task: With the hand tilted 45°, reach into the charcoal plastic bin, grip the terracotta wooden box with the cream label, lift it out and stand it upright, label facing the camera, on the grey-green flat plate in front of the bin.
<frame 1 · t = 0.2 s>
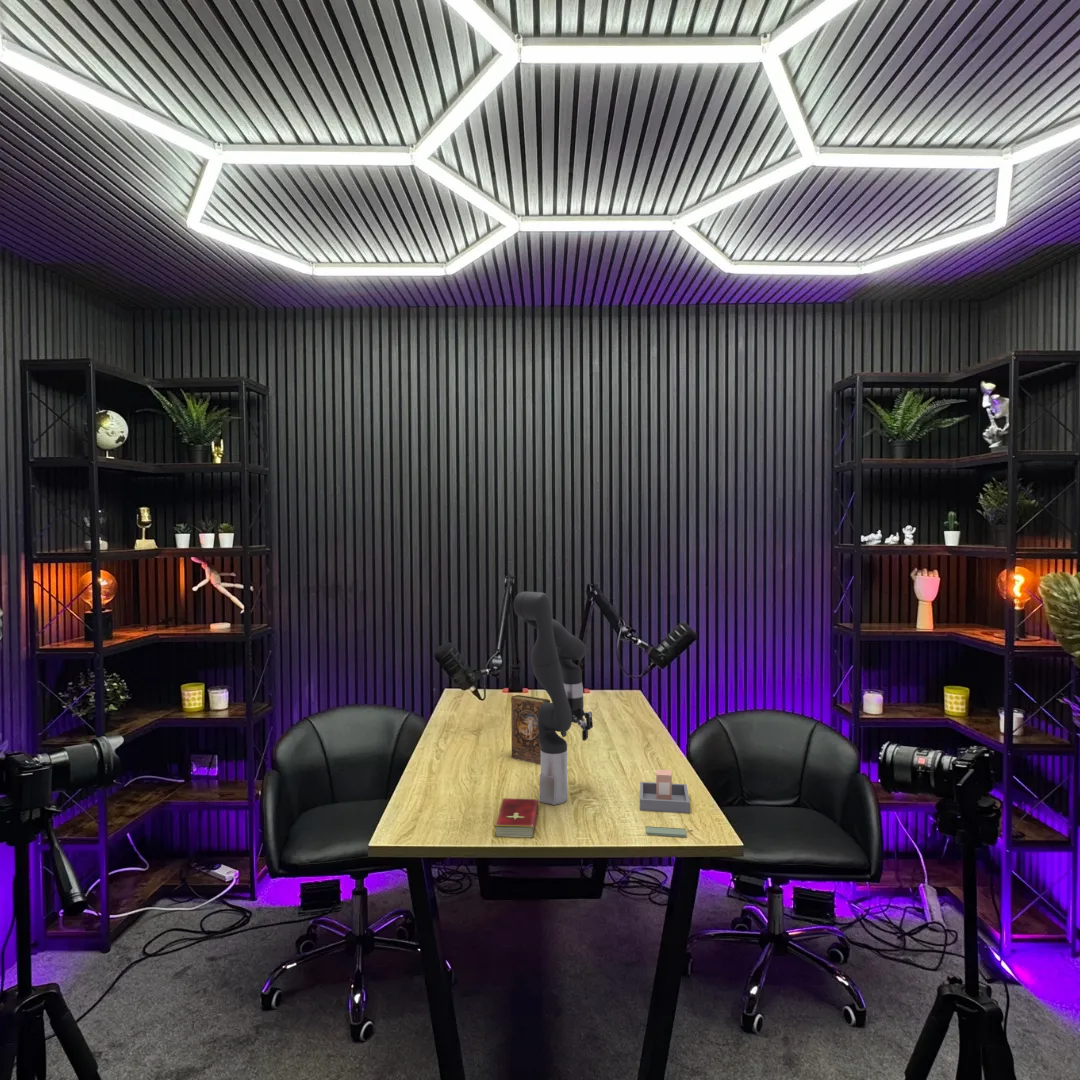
hand: (574, 738, 243), 18 cm above the table, tool pointing down, fingers open, 8 cm apart
labelled box: (663, 801, 227), point 1 cm above the table, touching parts bin
hardcover book: (517, 824, 213), on the table
grey-green flat plate: (665, 827, 209), on the table
parts bin: (663, 804, 227), on the table
book: (529, 759, 273), on the table
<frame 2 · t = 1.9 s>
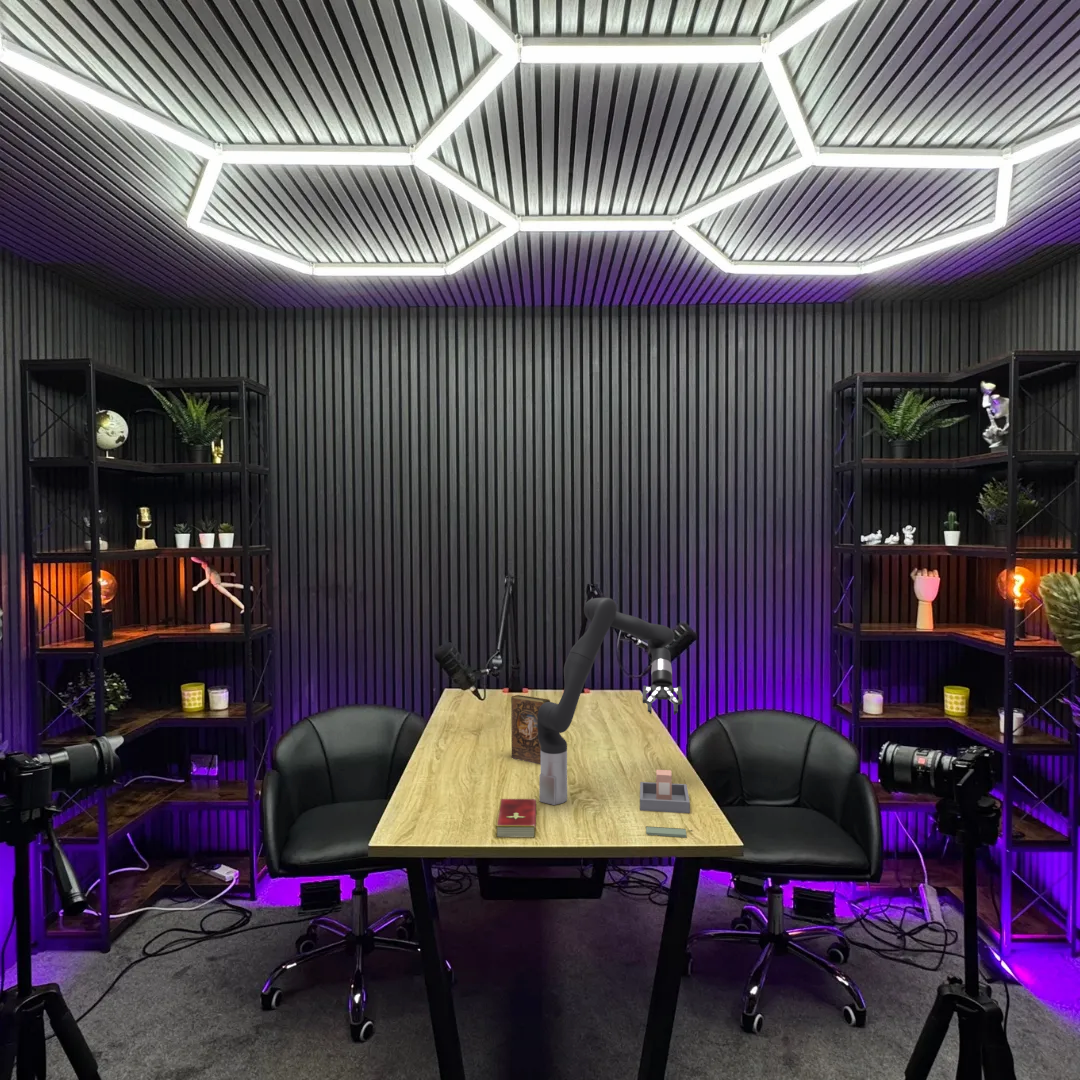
hand: (662, 713, 238), 28 cm above the table, tool tilted 45°, fingers open, 8 cm apart
nothing on the table moved.
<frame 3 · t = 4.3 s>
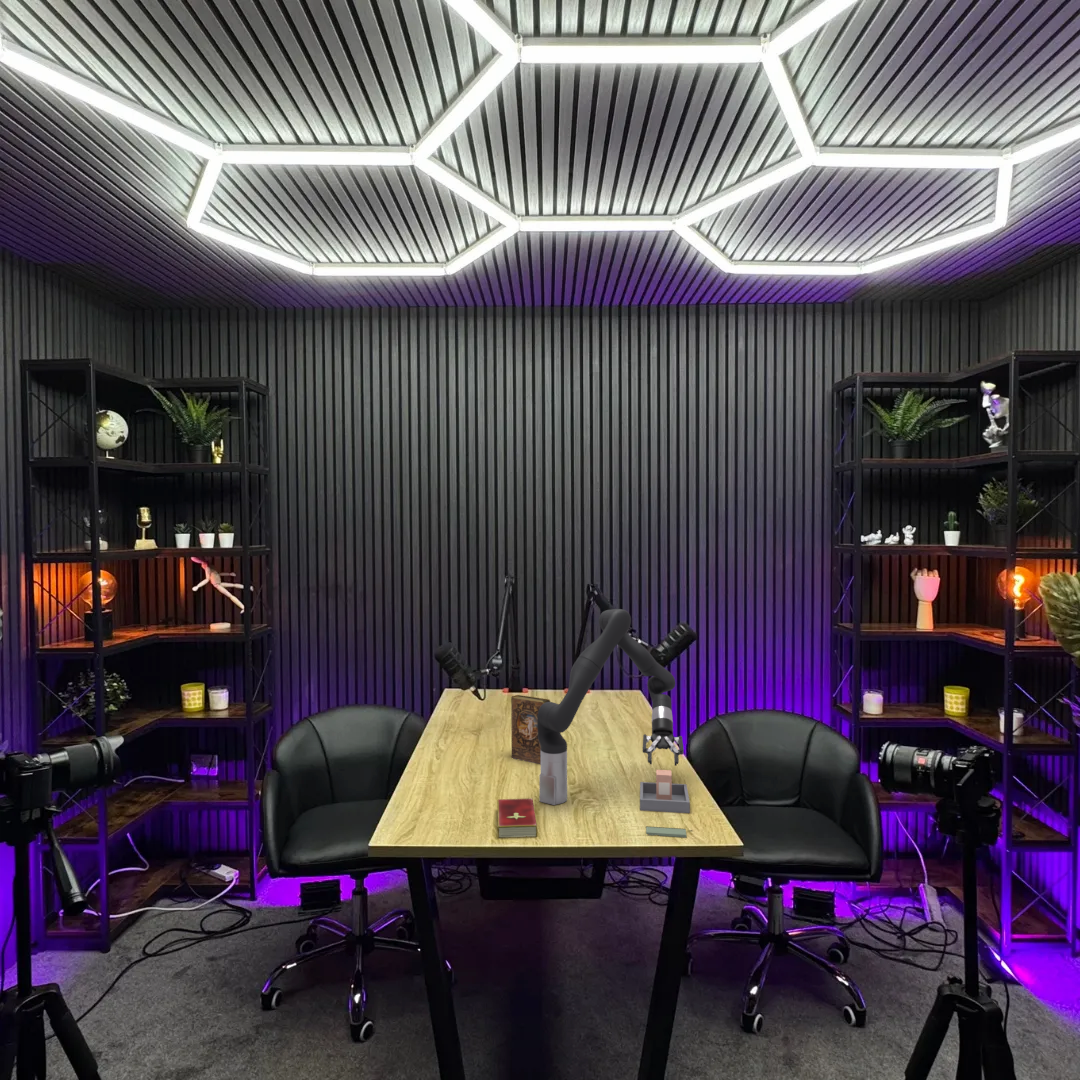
hand: (663, 764, 233), 12 cm above the table, tool tilted 45°, fingers open, 8 cm apart
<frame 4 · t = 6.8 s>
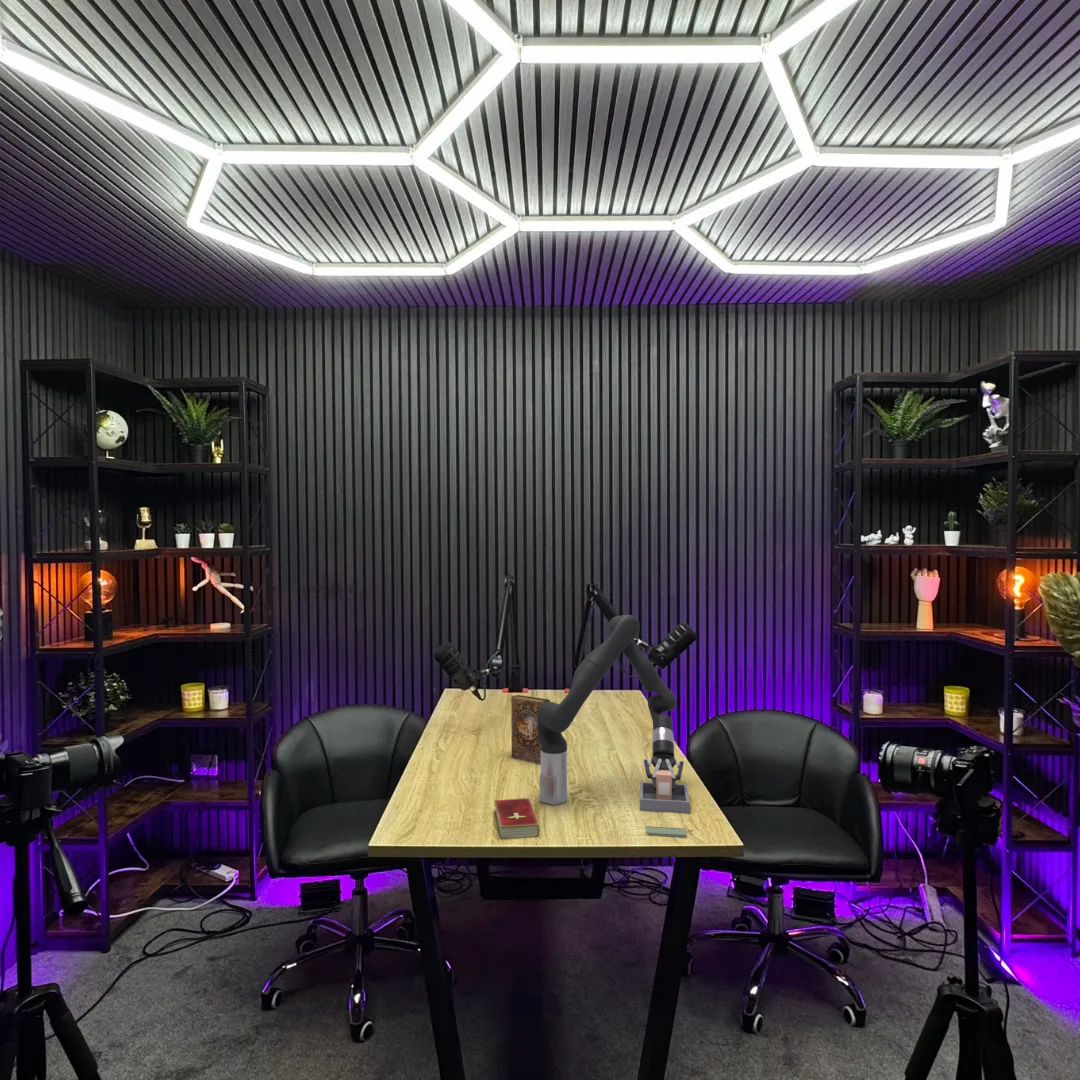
hand: (664, 790, 225), 6 cm above the table, tool tilted 45°, fingers closed on labelled box, 5 cm apart
labelled box: (663, 801, 227), point 1 cm above the table, touching gripper, parts bin
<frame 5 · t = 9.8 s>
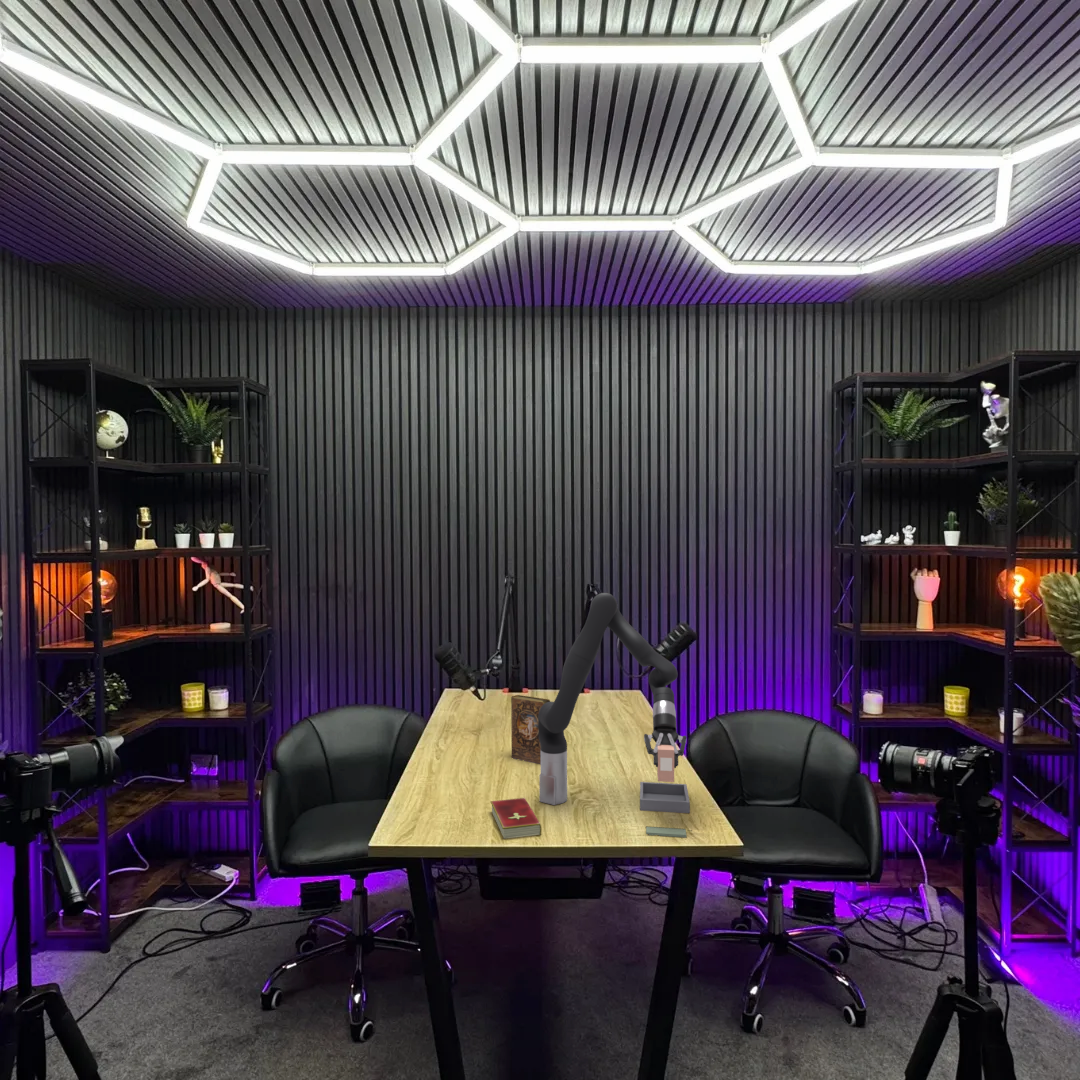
hand: (666, 766, 210), 19 cm above the table, tool tilted 45°, fingers closed on labelled box, 5 cm apart
labelled box: (665, 778, 212), point 14 cm above the table, touching gripper
when the fingers open (7 cm above the table, at t = 12.8 s): labelled box drops 1 cm, resting on grey-green flat plate.
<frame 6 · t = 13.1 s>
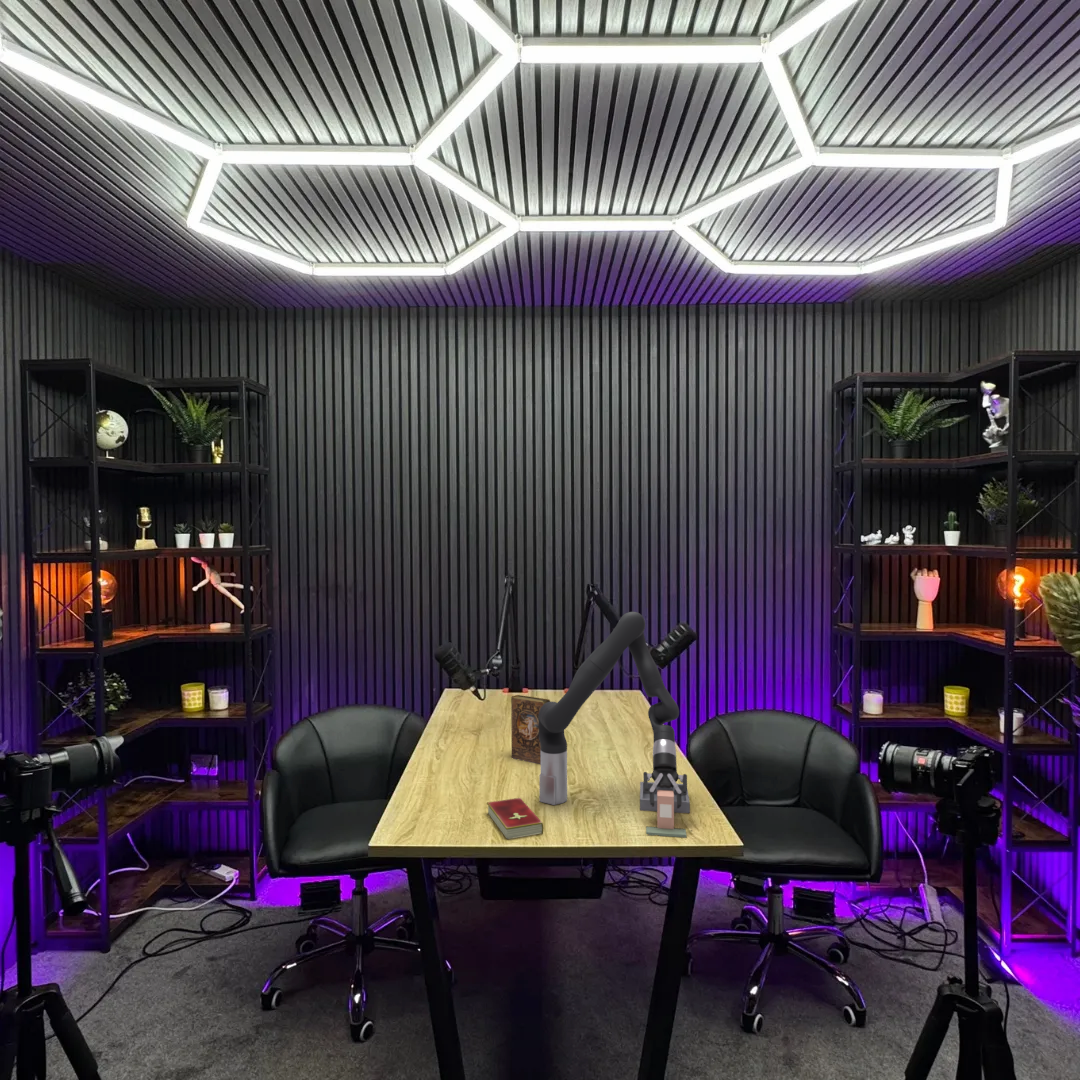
hand: (665, 806, 208), 7 cm above the table, tool tilted 45°, fingers open, 7 cm apart
labelled box: (665, 825, 209), point 1 cm above the table, touching grey-green flat plate
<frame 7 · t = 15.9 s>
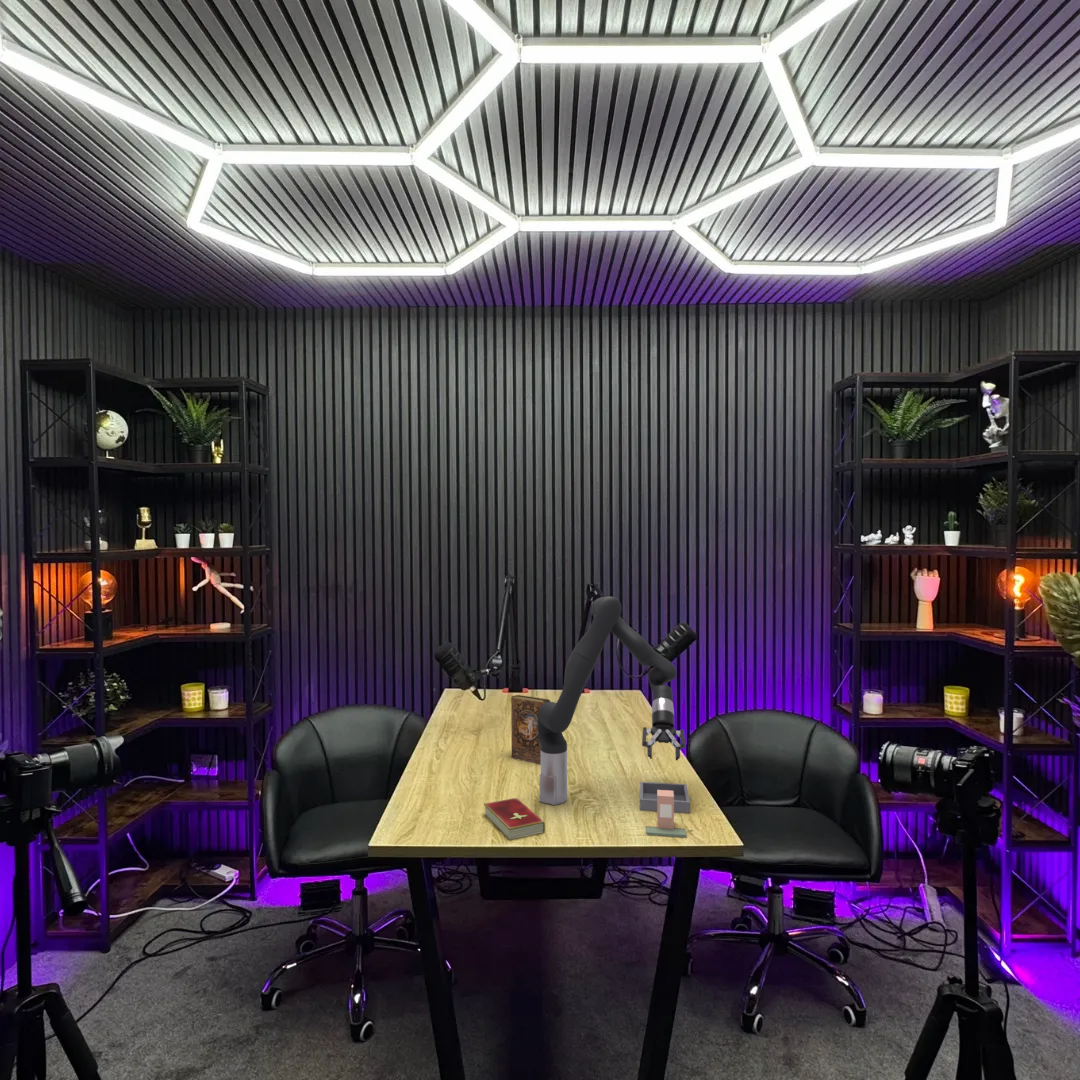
hand: (663, 758, 221), 18 cm above the table, tool tilted 45°, fingers open, 8 cm apart
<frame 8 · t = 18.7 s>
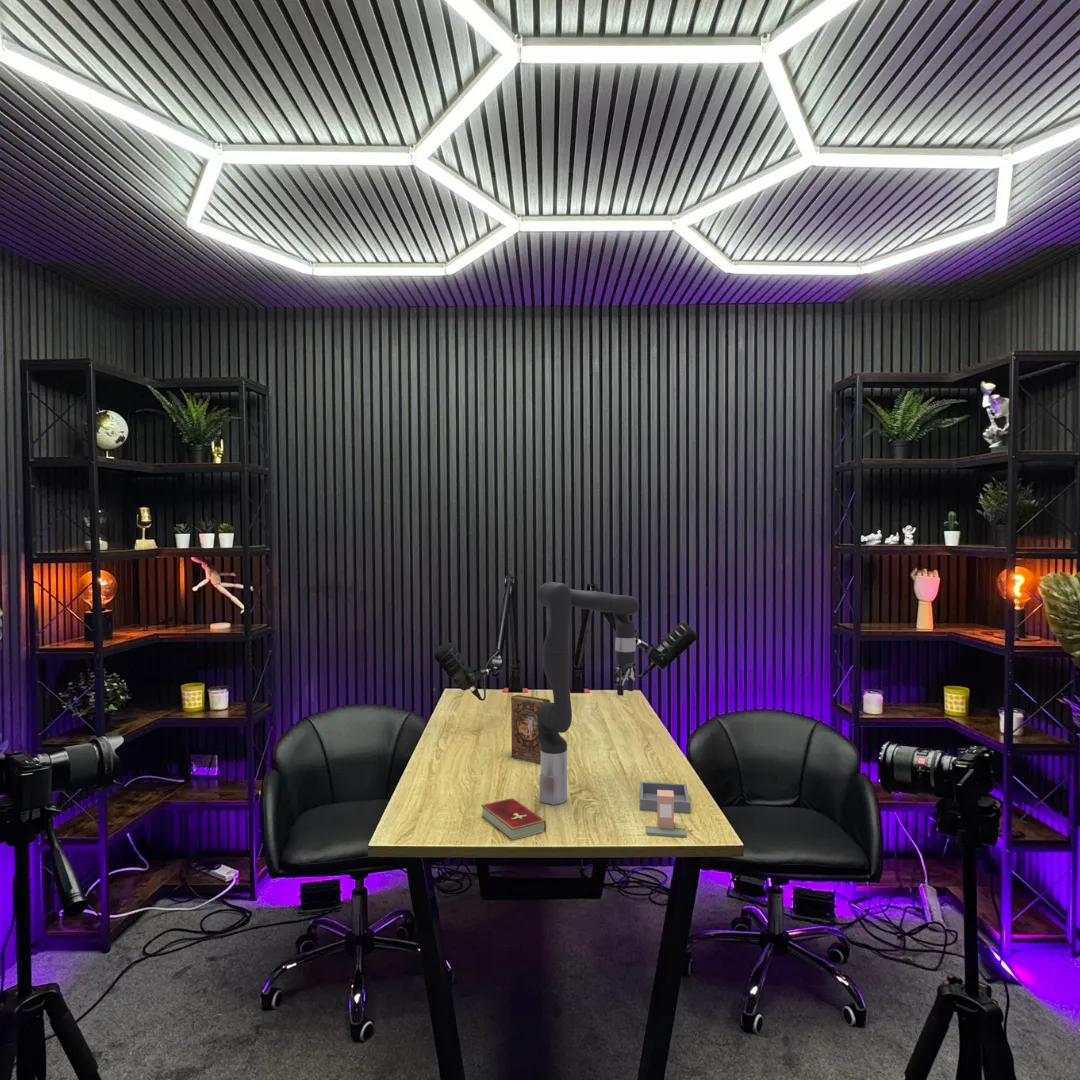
hand: (625, 693, 248), 33 cm above the table, tool pointing down, fingers open, 8 cm apart
at the end: labelled box inside the target area on the grey-green flat plate (0.1 cm from its centre), point 0.8 cm above the grey-green flat plate's base; labelled box tilted 0°; the gripper is holding nothing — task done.
